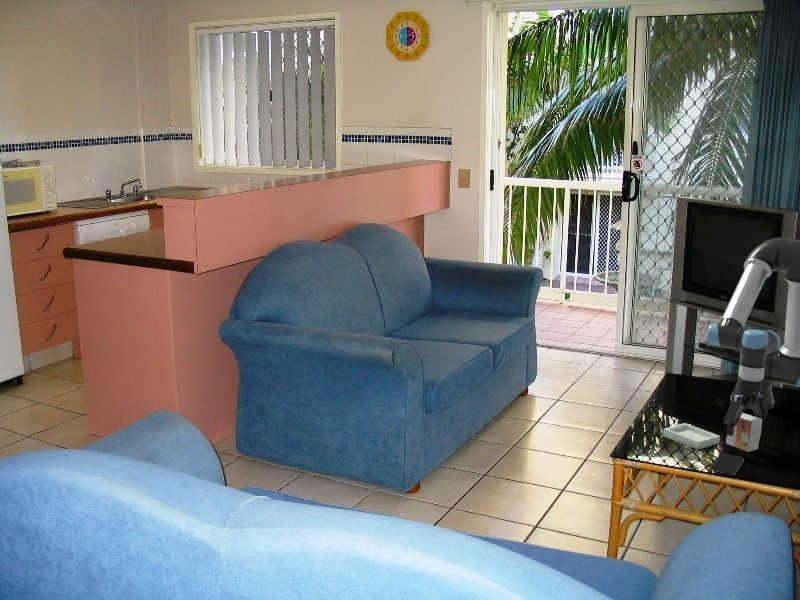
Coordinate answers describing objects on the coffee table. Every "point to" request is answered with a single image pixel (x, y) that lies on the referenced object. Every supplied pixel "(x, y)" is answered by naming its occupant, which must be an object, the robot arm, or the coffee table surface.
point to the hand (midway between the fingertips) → (743, 440)
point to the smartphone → (727, 464)
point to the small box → (748, 432)
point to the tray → (691, 436)
